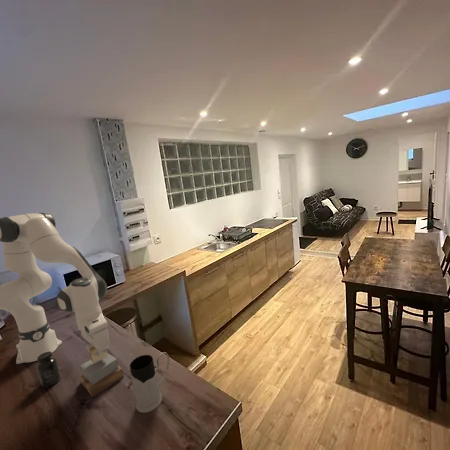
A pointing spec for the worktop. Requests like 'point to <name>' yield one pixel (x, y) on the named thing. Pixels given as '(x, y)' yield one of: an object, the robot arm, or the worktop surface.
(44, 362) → the supplement bottle
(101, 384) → the walnut base slab
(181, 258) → the worktop surface
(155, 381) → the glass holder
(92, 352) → the birch block
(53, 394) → the worktop surface
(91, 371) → the slate top slab
